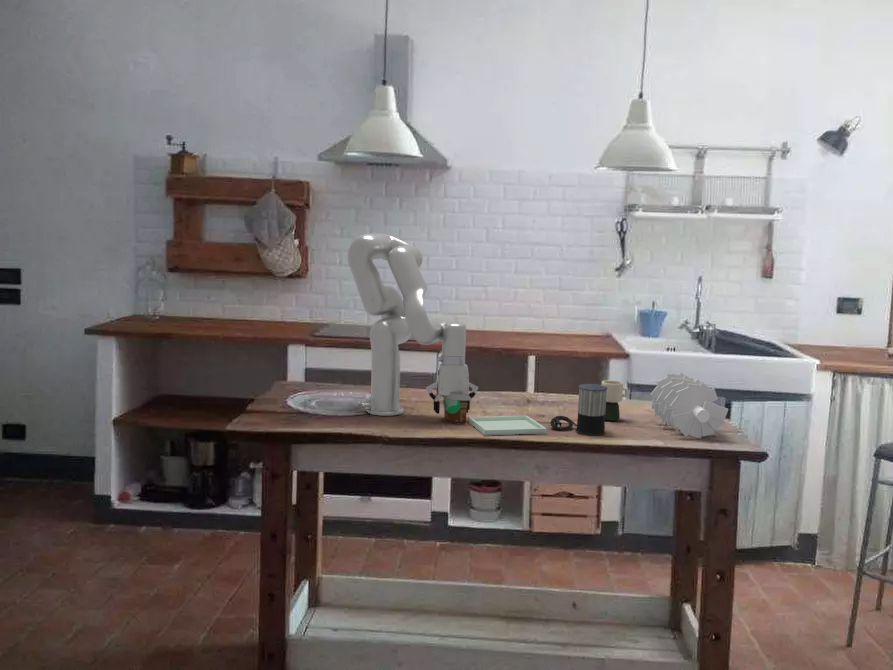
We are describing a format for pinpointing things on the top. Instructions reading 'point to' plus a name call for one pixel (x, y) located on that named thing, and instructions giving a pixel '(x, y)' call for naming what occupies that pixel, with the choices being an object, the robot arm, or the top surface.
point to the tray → (506, 425)
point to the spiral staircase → (687, 405)
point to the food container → (455, 407)
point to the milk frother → (587, 411)
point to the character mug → (613, 398)
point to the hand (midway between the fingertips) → (451, 412)
